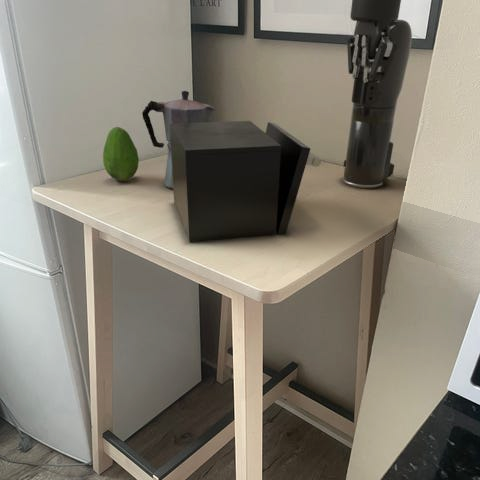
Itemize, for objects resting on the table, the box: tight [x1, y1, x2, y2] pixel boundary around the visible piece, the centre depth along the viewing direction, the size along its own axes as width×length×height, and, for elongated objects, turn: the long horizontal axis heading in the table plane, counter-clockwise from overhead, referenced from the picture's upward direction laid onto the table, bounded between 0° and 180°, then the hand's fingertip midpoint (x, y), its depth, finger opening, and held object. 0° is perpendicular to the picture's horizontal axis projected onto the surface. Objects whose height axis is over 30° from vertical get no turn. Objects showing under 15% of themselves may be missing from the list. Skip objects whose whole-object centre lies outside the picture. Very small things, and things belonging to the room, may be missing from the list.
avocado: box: [102, 126, 140, 182], centre depth 113 cm, size 8×8×12 cm
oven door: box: [265, 121, 322, 236], centre depth 96 cm, size 5×20×16 cm, turn 14°
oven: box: [170, 120, 281, 244], centre depth 93 cm, size 16×20×16 cm
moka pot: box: [141, 90, 216, 190], centre depth 108 cm, size 10×15×20 cm, turn 107°
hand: (362, 104), depth 87 cm, fingers open, 3 cm apart
